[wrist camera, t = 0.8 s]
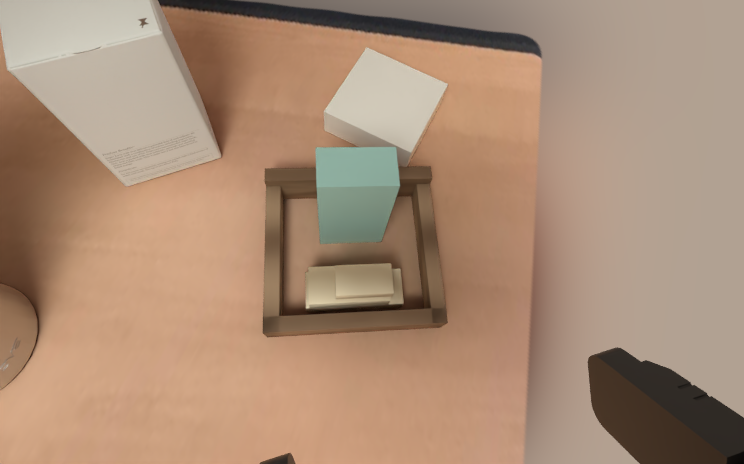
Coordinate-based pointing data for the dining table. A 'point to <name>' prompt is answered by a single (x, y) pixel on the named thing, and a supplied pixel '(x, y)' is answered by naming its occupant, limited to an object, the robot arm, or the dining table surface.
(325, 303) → the offcuts
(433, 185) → the dining table surface
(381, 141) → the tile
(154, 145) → the supplement box
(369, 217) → the tall block
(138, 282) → the dining table surface
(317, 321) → the square wooden frame
